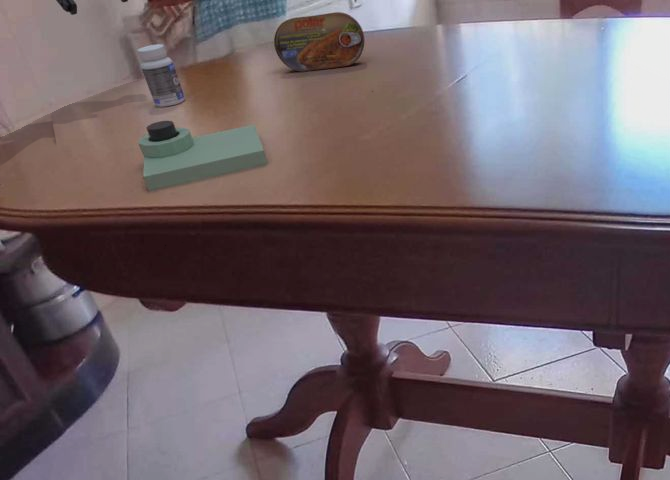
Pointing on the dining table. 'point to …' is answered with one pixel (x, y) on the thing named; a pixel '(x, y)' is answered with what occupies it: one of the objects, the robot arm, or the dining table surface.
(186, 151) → the scale
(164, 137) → the button
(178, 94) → the pill bottle
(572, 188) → the dining table surface
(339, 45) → the tin
